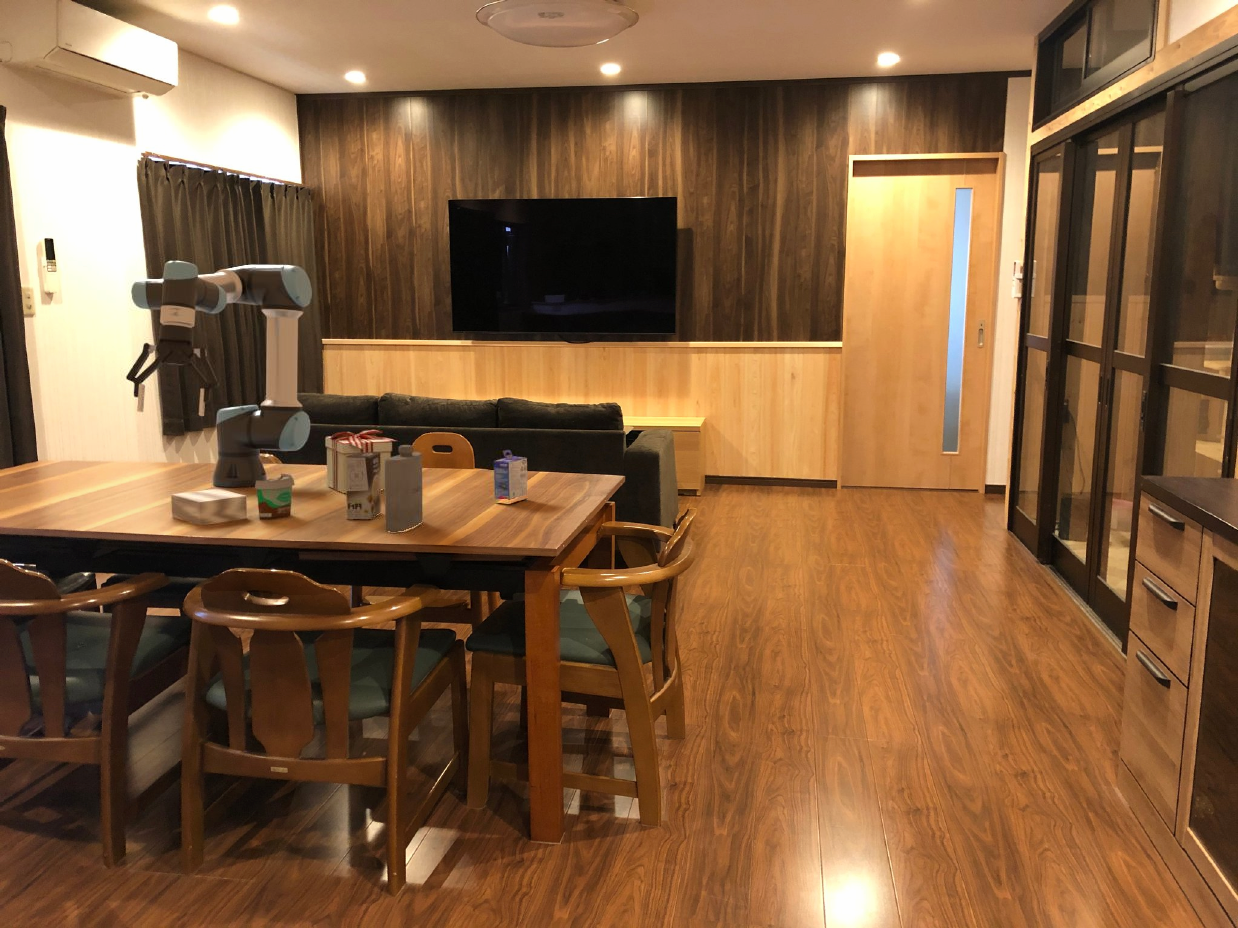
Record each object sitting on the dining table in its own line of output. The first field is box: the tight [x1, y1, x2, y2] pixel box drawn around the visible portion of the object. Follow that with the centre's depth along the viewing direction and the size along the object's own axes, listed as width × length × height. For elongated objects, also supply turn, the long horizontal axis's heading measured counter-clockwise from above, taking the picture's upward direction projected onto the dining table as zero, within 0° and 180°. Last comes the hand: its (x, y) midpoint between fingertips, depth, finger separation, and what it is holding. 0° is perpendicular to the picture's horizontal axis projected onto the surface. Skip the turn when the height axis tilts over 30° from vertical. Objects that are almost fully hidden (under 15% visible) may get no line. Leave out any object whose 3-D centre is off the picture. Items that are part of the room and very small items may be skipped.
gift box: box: [325, 429, 397, 494], centre depth 280 cm, size 17×18×17 cm
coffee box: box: [346, 452, 382, 520], centre depth 241 cm, size 9×6×16 cm
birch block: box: [170, 488, 248, 526], centre depth 237 cm, size 12×14×6 cm
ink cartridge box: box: [493, 449, 528, 500], centre depth 266 cm, size 10×6×14 cm, turn 155°
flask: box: [384, 444, 424, 532], centre depth 230 cm, size 15×6×20 cm, turn 170°
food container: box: [254, 473, 296, 521], centre depth 239 cm, size 12×6×10 cm, turn 168°
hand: (171, 413), depth 229 cm, fingers open, 13 cm apart
